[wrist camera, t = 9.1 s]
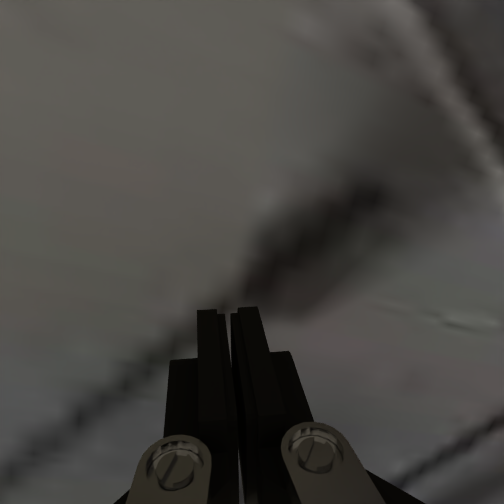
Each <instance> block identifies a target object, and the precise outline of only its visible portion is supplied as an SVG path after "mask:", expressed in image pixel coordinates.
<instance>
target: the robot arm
mask: <svg viewBox="0 0 504 504" xmlns="http://www.w3.org/2000/svg"><path fill="white" fill-rule="evenodd" d="M230 317H231V360H230V352H229V344H228V337H227V329H226V321H225V314H217V309H210V310H197V342H198V358H192V359H179V360H170V365H169V377H168V389H167V401H166V413H165V425H164V437H163V439H160V440H158V441H157V442H155V443H154V444H152V445H151V446H150V447H149V448H148V449H147V450H146V451H145V452H144V453H143V455H142V457H141V459H140V461H139V463H138V466H137V469H136V472H135V475H134V478H133V482H132V485H131V488H130V490H129V491H127V492H126V493H125V494H124V495H123V496H122V497H121V498H120V499H118V500H117V501H116V502H115V503H114V504H239V472H238V450H239V459H240V468H241V476H242V485H243V493H244V502H245V504H425V503H423V502H422V501H420V500H418V499H416V498H415V497H413V496H411V495H409V494H408V493H406V492H404V491H402V490H401V489H399V488H397V487H395V486H394V485H392V484H390V483H388V482H387V481H385V480H383V479H381V478H380V477H378V476H376V475H374V474H373V473H371V472H369V471H367V470H366V469H365V468H364V467H363V465H362V464H361V462H360V460H359V459H358V457H357V455H356V454H355V452H354V450H353V449H352V447H351V445H350V444H349V442H348V441H347V439H346V438H345V437H344V436H343V435H342V433H340V432H339V431H338V430H336V429H335V428H333V427H331V426H329V425H326V424H324V423H318V422H314V420H313V417H312V414H311V411H310V408H309V405H308V402H307V399H306V397H305V394H304V391H303V388H302V385H301V382H300V379H299V376H298V373H297V370H296V367H295V364H294V361H293V359H292V356H291V353H290V352H289V351H282V352H270V351H269V347H268V344H267V340H266V336H265V332H264V329H263V325H262V321H261V318H260V314H259V310H258V307H257V306H256V307H241V308H238V313H231V316H230ZM231 366H232V368H231Z"/></svg>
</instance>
